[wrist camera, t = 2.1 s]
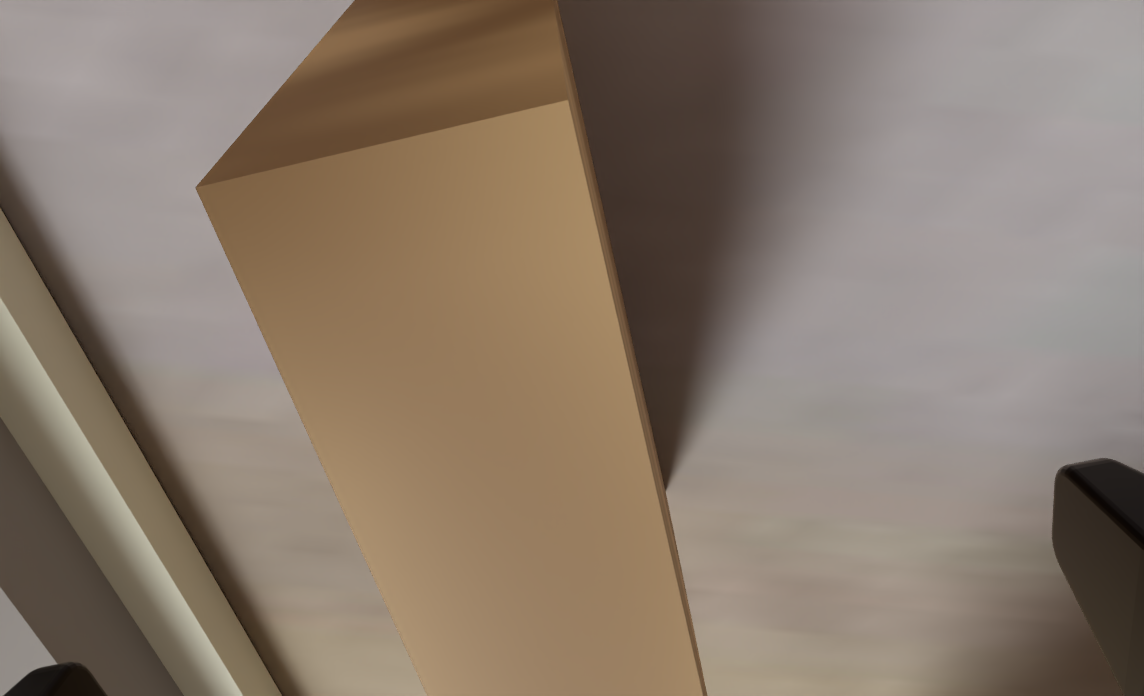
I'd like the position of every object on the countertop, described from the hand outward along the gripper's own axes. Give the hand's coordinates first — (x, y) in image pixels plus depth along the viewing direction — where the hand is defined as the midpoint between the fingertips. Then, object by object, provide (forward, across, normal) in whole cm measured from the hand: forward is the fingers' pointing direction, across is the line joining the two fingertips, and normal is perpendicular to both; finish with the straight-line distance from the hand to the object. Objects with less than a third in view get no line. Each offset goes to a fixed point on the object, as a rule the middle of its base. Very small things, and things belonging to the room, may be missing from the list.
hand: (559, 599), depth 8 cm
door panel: (+6, 0, 0) cm, 7 cm away
